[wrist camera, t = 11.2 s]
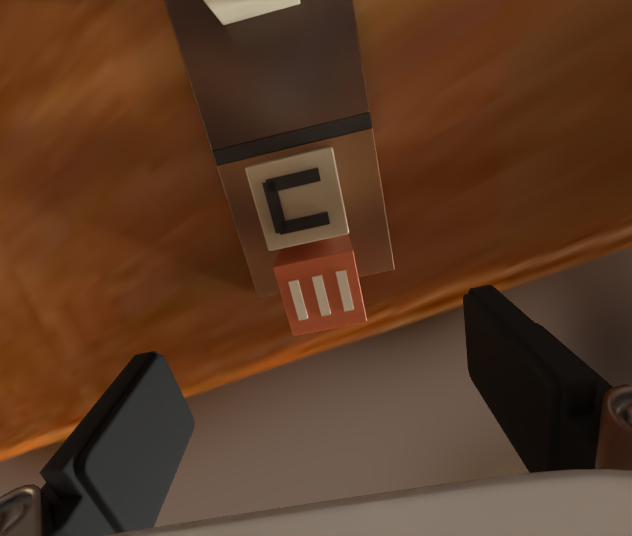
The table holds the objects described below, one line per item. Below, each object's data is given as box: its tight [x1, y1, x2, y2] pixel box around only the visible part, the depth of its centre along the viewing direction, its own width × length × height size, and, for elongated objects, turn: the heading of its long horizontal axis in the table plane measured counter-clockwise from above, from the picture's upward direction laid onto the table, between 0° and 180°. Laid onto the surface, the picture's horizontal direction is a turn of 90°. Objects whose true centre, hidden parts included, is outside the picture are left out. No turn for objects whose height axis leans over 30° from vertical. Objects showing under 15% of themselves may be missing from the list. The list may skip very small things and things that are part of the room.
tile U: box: [245, 147, 349, 251], centre depth 17 cm, size 4×4×4 cm
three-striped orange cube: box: [273, 234, 367, 336], centre depth 19 cm, size 4×4×4 cm
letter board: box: [164, 0, 395, 298], centre depth 19 cm, size 20×9×1 cm, turn 13°
